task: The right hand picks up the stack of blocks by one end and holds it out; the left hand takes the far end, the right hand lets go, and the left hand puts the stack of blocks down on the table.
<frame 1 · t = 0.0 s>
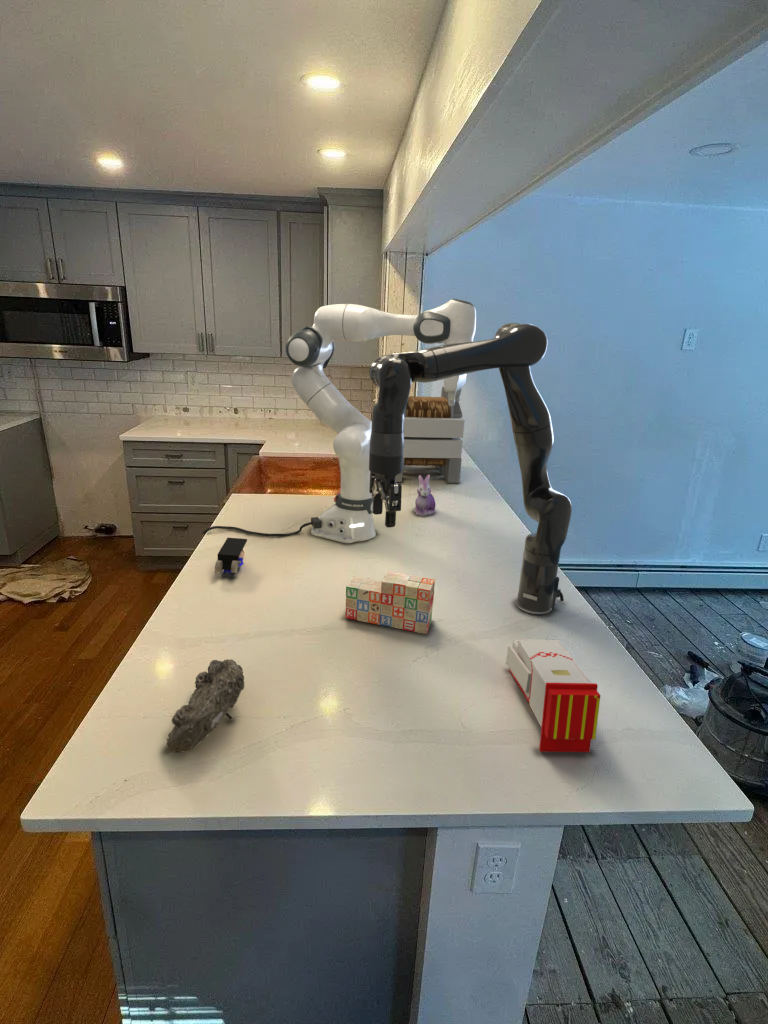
left hand: (454, 403, 174), 48 cm above the counter, tool pointing down, fingers open, 8 cm apart
right hand: (383, 520, 129), 29 cm above the counter, tool pointing down, fingers open, 8 cm apart
figurine: (424, 512, 222), on the counter
grey slatted crate: (419, 473, 275), on the counter
figurine character: (232, 569, 168), on the counter
stack of blocks: (388, 620, 144), on the counter
toy: (542, 703, 116), on the counter
fossil: (212, 717, 108), on the counter
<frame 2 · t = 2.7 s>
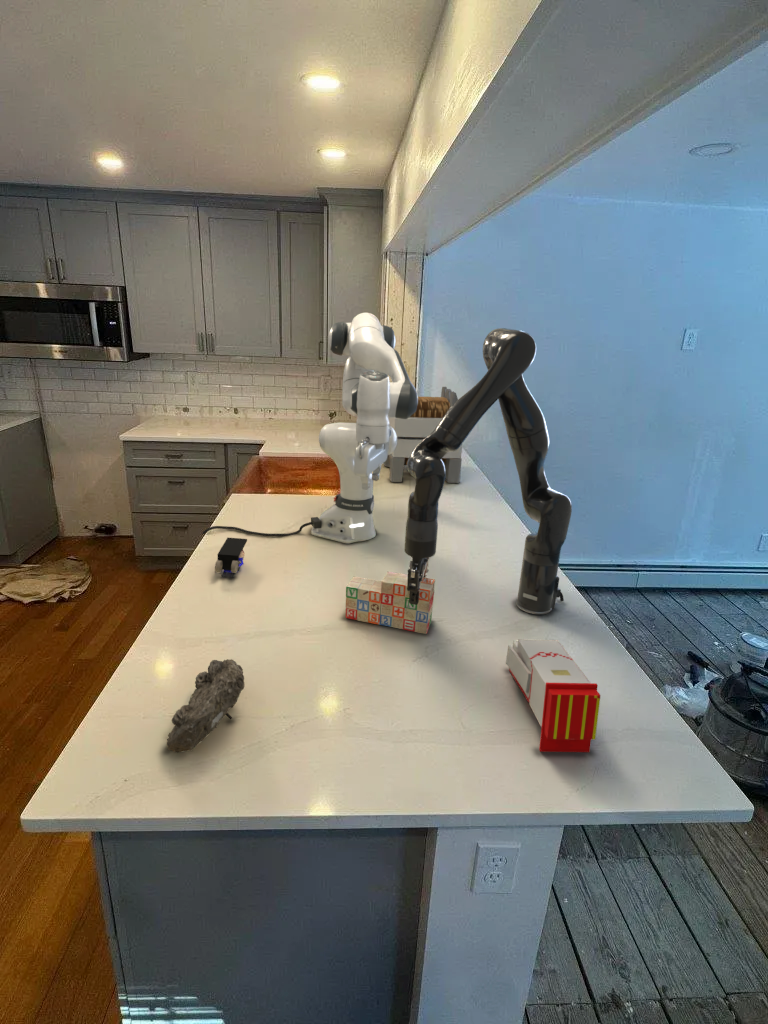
left hand: (370, 484, 155), 29 cm above the counter, tool pointing down, fingers open, 8 cm apart
right hand: (416, 597, 140), 8 cm above the counter, tool pointing down, fingers closed on stack of blocks, 6 cm apart
stack of blocks: (388, 620, 144), on the counter, touching right hand
everything else where it was.
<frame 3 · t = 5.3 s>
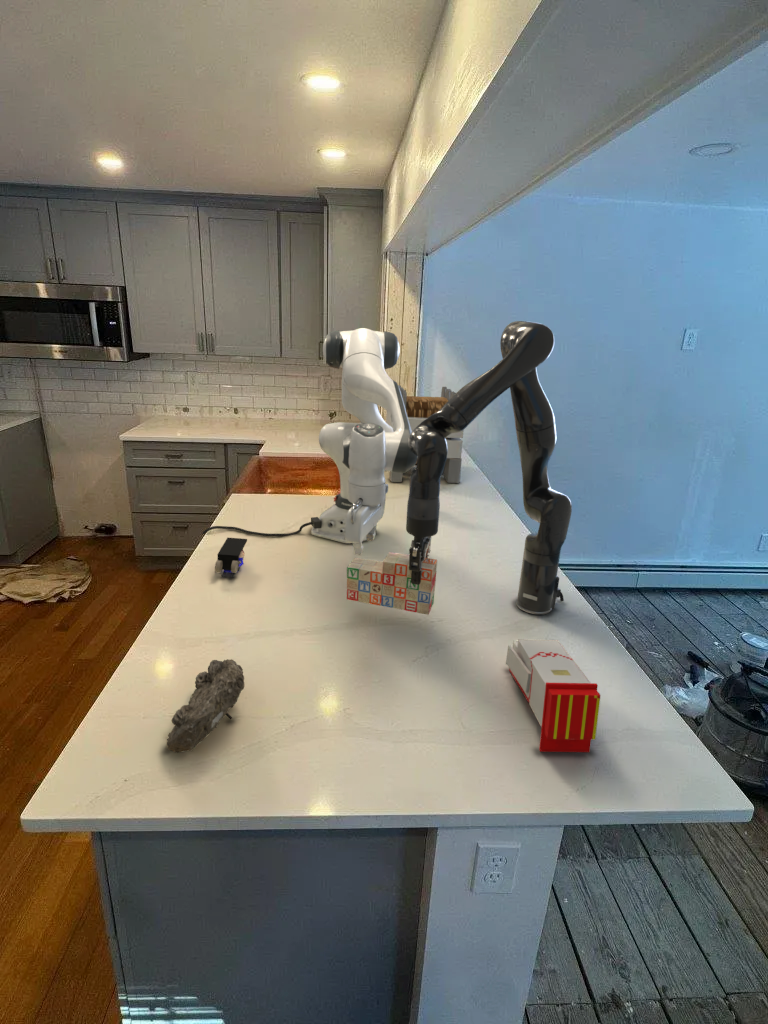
left hand: (364, 546, 139), 19 cm above the counter, tool pointing down, fingers open, 8 cm apart
right hand: (418, 577, 138), 13 cm above the counter, tool pointing down, fingers closed on stack of blocks, 6 cm apart
stack of blocks: (390, 601, 142), point 5 cm above the counter, touching right hand
everything else where it was.
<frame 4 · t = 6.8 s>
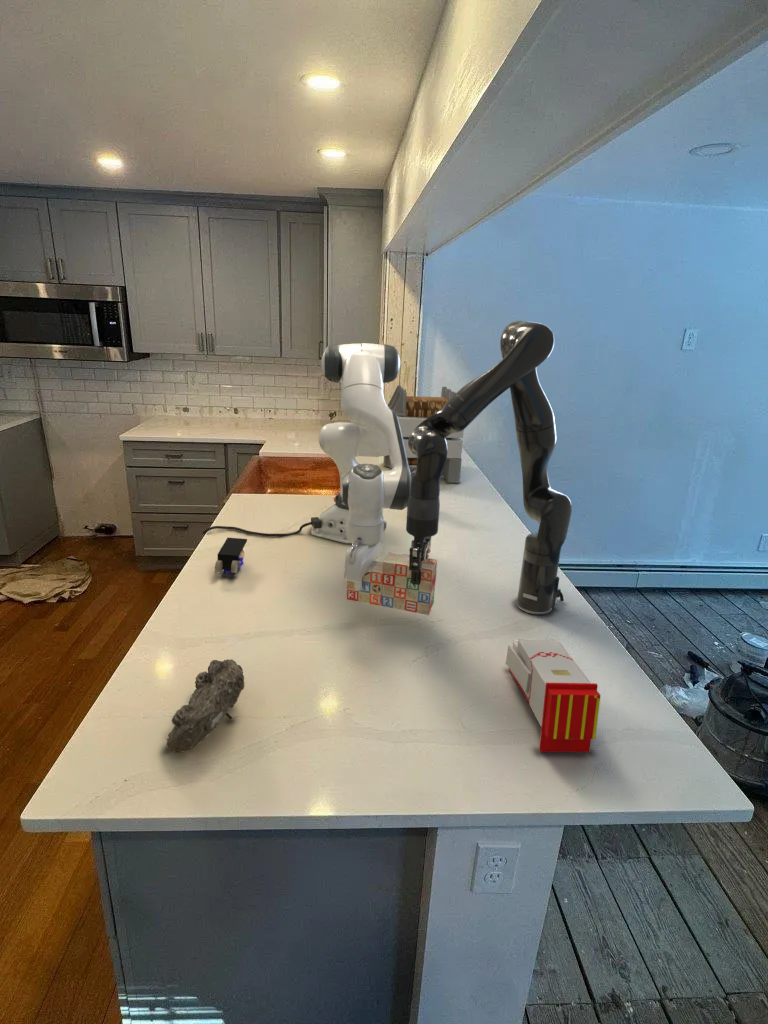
left hand: (363, 582, 143), 10 cm above the counter, tool pointing down, fingers closed on stack of blocks, 6 cm apart
right hand: (418, 577, 138), 13 cm above the counter, tool pointing down, fingers closed on stack of blocks, 6 cm apart
stack of blocks: (390, 602, 142), point 5 cm above the counter, touching left hand, right hand
everything else where it was.
when the right hand's fingers open (13 cm above the counter, at t = 7.9 s): stack of blocks stays where it is, held by the left hand.
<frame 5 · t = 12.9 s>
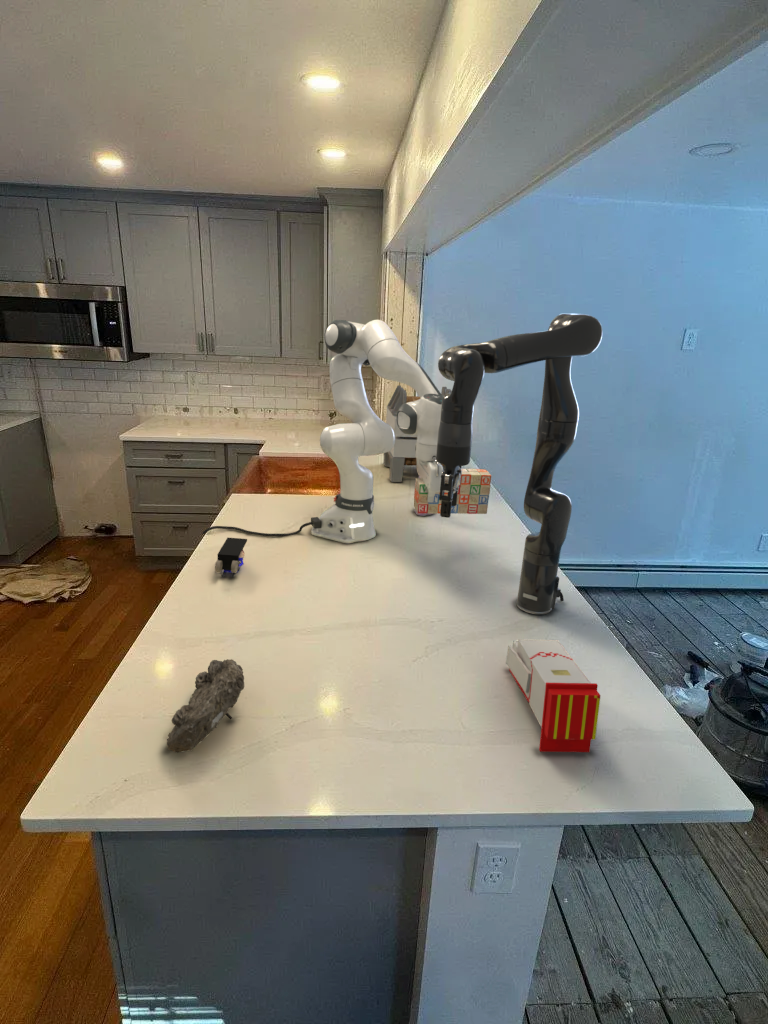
left hand: (427, 497, 168), 22 cm above the counter, tool pointing down, fingers closed on stack of blocks, 6 cm apart
right hand: (448, 510, 130), 31 cm above the counter, tool pointing down, fingers open, 8 cm apart
stack of blocks: (450, 510, 171), point 18 cm above the counter, touching left hand
everything else where it was.
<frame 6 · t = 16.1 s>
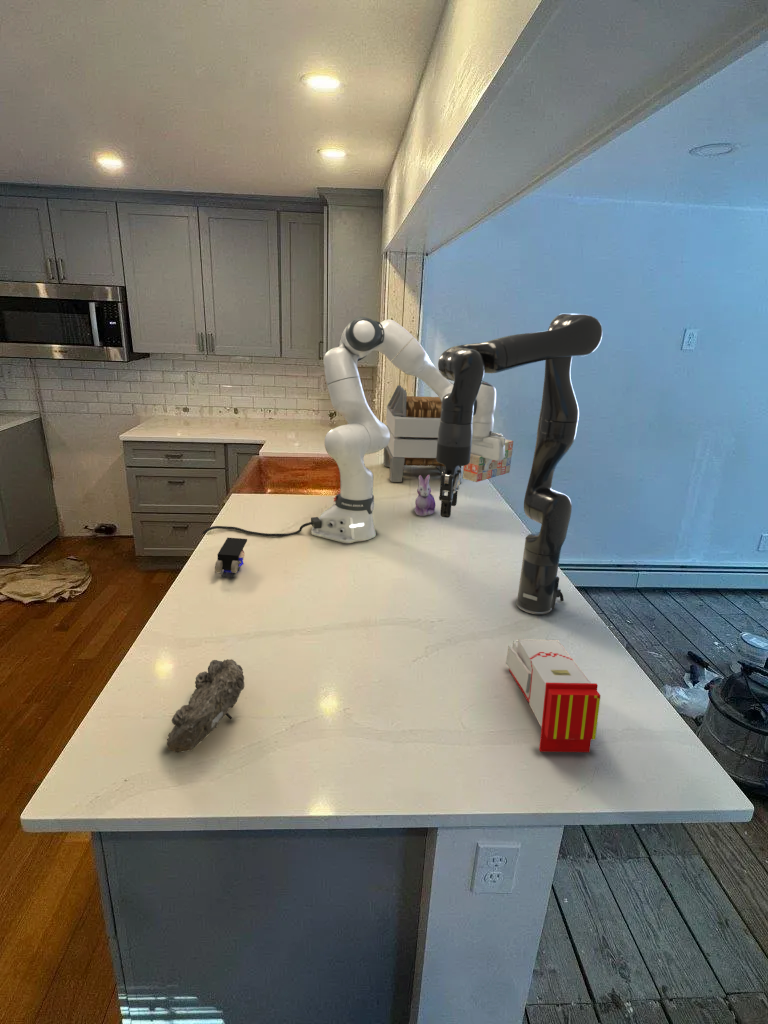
left hand: (476, 467, 200), 23 cm above the counter, tool pointing down, fingers closed on stack of blocks, 6 cm apart
right hand: (448, 510, 130), 31 cm above the counter, tool pointing down, fingers open, 8 cm apart
stack of blocks: (486, 475, 207), point 19 cm above the counter, touching left hand
everything else where it was.
when the left hand's fingers open (5 cm above the counter, at t = 19.1 s): stack of blocks stays where it is, on the counter.
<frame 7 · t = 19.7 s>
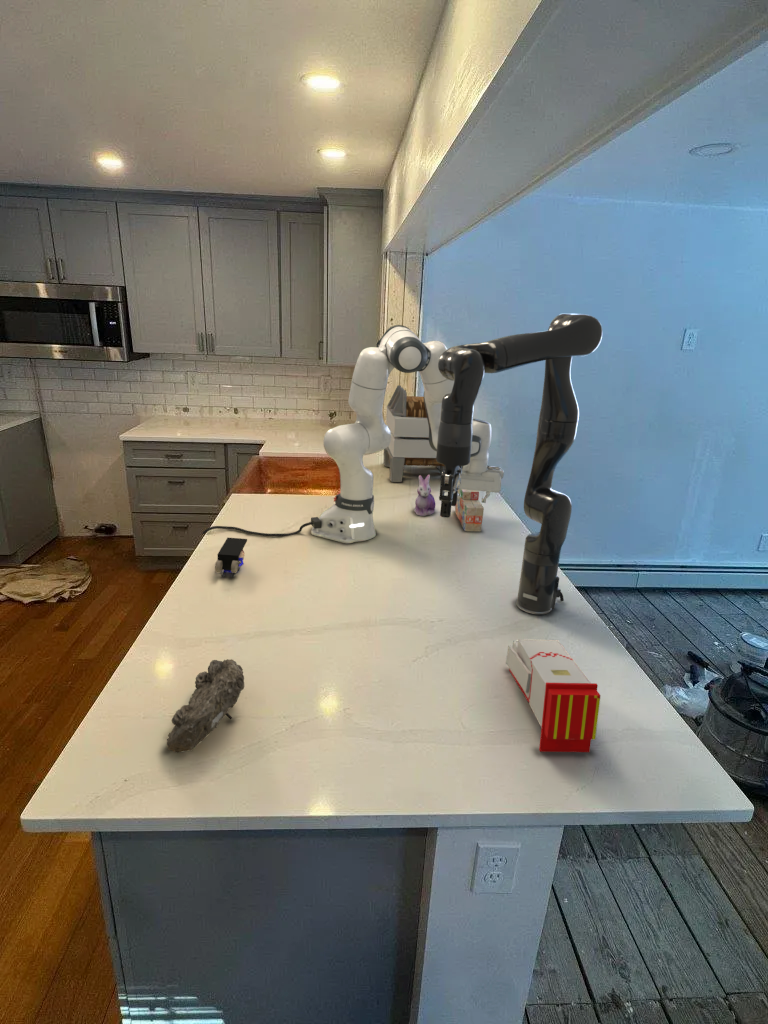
left hand: (470, 500, 207), 10 cm above the counter, tool pointing down, fingers open, 8 cm apart
right hand: (448, 510, 130), 31 cm above the counter, tool pointing down, fingers open, 8 cm apart
stack of blocks: (467, 521, 215), on the counter
everything else where it was.
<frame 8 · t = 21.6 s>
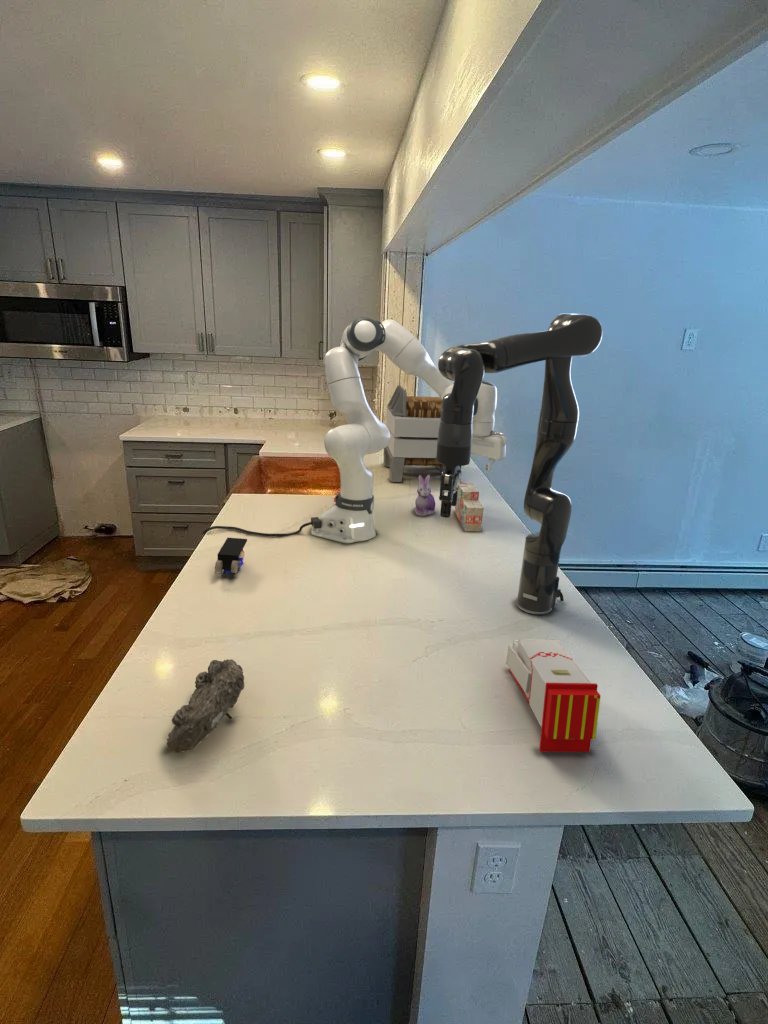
left hand: (477, 467, 201), 23 cm above the counter, tool pointing down, fingers open, 8 cm apart
right hand: (448, 510, 130), 31 cm above the counter, tool pointing down, fingers open, 8 cm apart
nothing on the counter moved.
at the end: stack of blocks inside the target area (6.7 cm from its centre), on the counter; the left hand is holding nothing; the right hand is holding nothing; stack of blocks at rest at the end (0.0 cm/s) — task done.
